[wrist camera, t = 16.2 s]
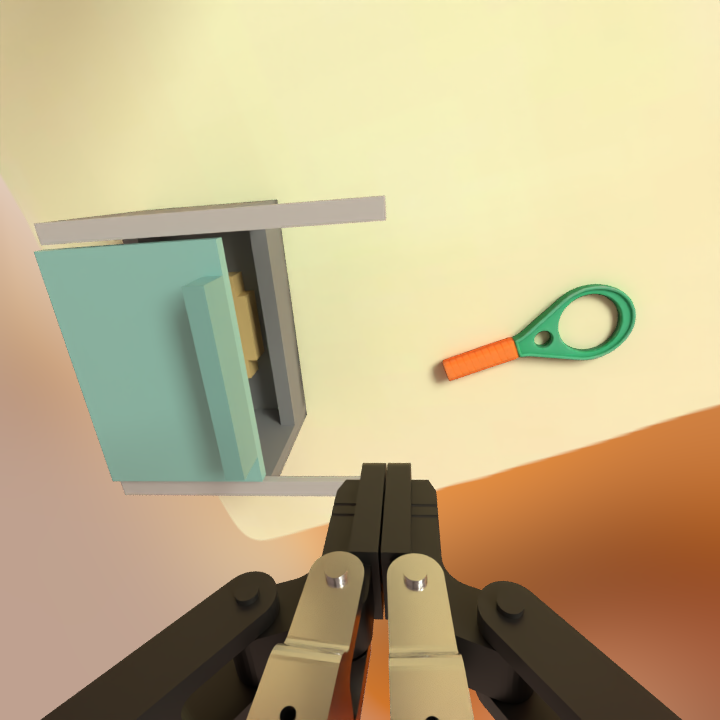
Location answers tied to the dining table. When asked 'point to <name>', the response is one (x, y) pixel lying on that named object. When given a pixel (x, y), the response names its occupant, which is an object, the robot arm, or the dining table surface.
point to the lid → (158, 358)
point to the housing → (242, 315)
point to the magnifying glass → (555, 346)
